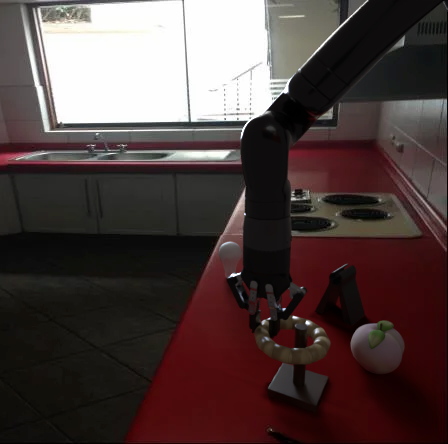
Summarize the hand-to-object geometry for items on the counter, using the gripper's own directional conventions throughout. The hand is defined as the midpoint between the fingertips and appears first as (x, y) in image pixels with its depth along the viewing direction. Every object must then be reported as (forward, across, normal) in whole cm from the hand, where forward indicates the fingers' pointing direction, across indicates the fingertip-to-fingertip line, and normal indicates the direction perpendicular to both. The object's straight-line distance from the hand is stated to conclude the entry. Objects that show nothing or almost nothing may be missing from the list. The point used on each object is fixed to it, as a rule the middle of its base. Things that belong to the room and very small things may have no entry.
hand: (264, 333), depth 72 cm
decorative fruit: (+9, +16, +11) cm, 22 cm away
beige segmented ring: (-1, +5, 0) cm, 5 cm away
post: (+9, +6, 0) cm, 11 cm away
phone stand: (+9, +7, +27) cm, 30 cm away
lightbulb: (+9, -22, +33) cm, 41 cm away
